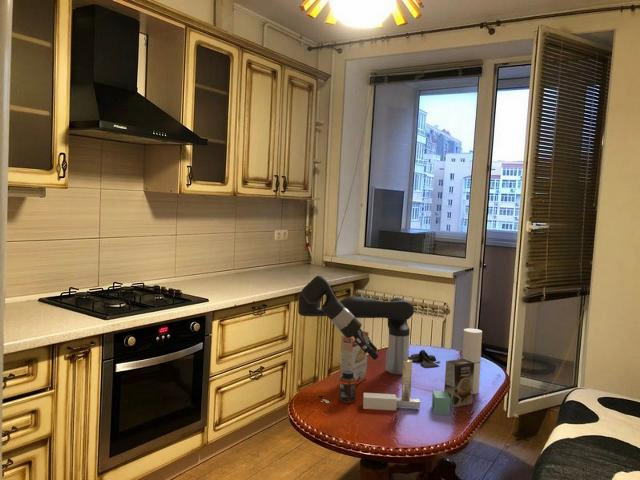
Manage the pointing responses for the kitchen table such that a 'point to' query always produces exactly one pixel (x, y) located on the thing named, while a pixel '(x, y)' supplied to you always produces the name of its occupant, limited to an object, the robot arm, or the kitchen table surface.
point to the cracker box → (353, 359)
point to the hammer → (407, 388)
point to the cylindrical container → (473, 353)
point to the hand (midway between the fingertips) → (376, 354)
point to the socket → (441, 402)
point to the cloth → (424, 359)
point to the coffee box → (459, 381)
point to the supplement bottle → (347, 387)
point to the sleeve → (379, 401)
